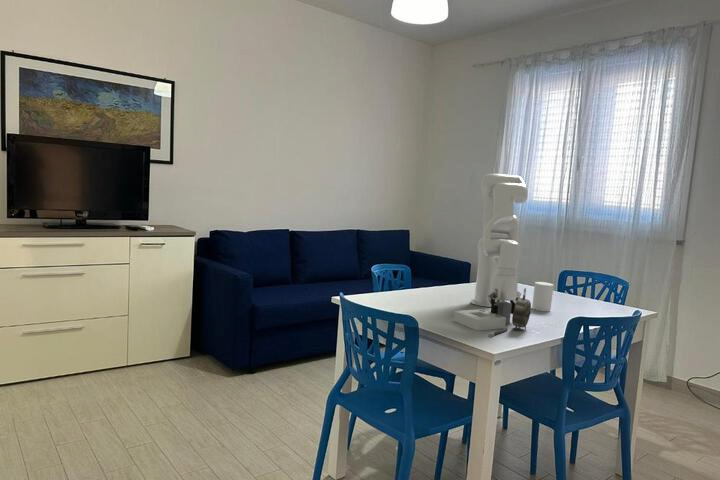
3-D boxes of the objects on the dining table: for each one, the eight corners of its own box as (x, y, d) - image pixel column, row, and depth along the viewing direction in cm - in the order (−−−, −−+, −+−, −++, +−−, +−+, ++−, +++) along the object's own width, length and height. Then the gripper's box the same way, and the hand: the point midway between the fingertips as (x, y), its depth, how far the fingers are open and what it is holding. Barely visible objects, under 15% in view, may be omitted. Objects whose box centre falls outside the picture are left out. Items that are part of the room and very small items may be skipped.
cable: (504, 330, 198) (505, 327, 198) (508, 331, 197) (508, 328, 197) (488, 336, 188) (488, 333, 187) (491, 337, 187) (491, 334, 186)
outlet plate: (480, 318, 213) (481, 308, 213) (505, 328, 201) (506, 317, 201) (453, 320, 206) (454, 310, 206) (477, 330, 194) (479, 319, 194)
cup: (551, 309, 243) (554, 283, 242) (549, 312, 236) (552, 286, 235) (533, 306, 247) (536, 281, 245) (531, 309, 239) (534, 283, 238)
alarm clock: (516, 325, 207) (521, 285, 206) (530, 327, 205) (535, 287, 203) (509, 330, 198) (514, 288, 196) (524, 333, 195) (529, 291, 194)
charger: (501, 319, 214) (503, 300, 213) (509, 322, 210) (511, 303, 210) (493, 320, 212) (495, 301, 211) (501, 323, 208) (503, 303, 207)
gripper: (515, 270, 216) (511, 311, 218) (484, 270, 208) (480, 313, 209) (529, 273, 210) (525, 315, 211) (497, 274, 201) (493, 317, 203)
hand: (502, 314), depth 210 cm, fingers open, 9 cm apart
